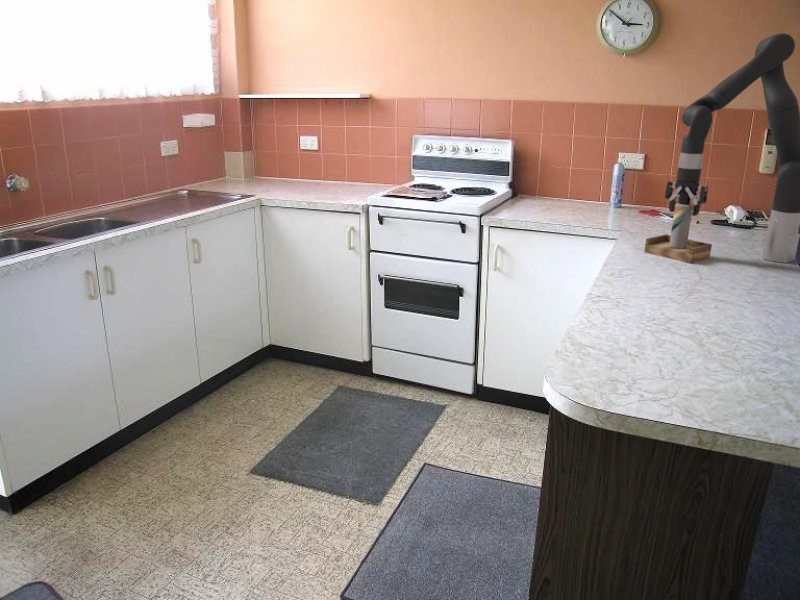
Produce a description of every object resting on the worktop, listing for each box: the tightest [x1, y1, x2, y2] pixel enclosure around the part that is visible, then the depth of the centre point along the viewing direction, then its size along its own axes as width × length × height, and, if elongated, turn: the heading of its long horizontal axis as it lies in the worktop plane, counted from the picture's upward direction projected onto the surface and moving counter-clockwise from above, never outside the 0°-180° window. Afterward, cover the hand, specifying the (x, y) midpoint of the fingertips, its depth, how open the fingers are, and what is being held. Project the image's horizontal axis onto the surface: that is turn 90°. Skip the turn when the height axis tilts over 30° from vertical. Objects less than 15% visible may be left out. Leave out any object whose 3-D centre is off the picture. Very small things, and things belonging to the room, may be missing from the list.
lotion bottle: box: [670, 191, 694, 249], centre depth 233 cm, size 6×6×20 cm
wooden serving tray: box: [644, 234, 713, 264], centre depth 236 cm, size 18×12×5 cm, turn 36°
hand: (683, 213), depth 232 cm, fingers open, 8 cm apart
